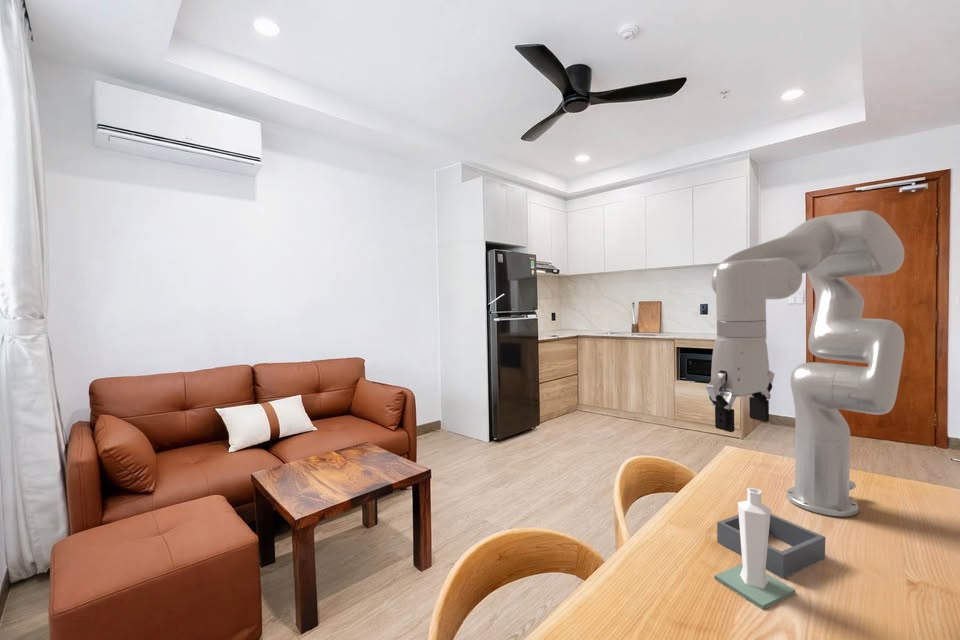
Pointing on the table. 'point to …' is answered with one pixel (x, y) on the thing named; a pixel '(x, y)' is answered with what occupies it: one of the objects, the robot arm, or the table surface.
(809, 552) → the bin
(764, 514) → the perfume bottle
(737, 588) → the mat
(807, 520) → the table surface
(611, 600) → the table surface
